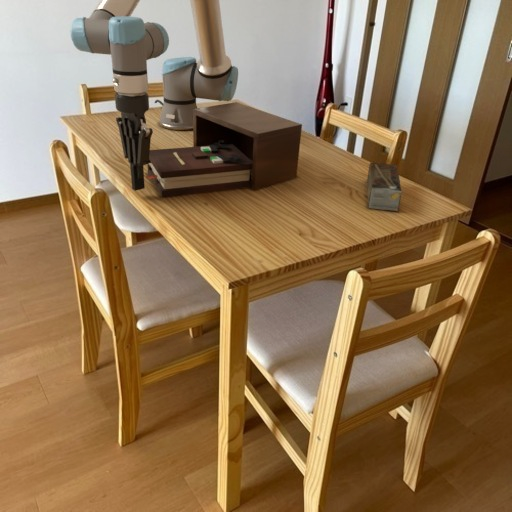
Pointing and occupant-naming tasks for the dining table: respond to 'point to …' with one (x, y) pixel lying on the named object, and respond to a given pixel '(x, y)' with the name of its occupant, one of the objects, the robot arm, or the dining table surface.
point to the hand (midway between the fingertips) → (138, 188)
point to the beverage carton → (383, 186)
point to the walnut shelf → (252, 139)
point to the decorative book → (199, 169)
